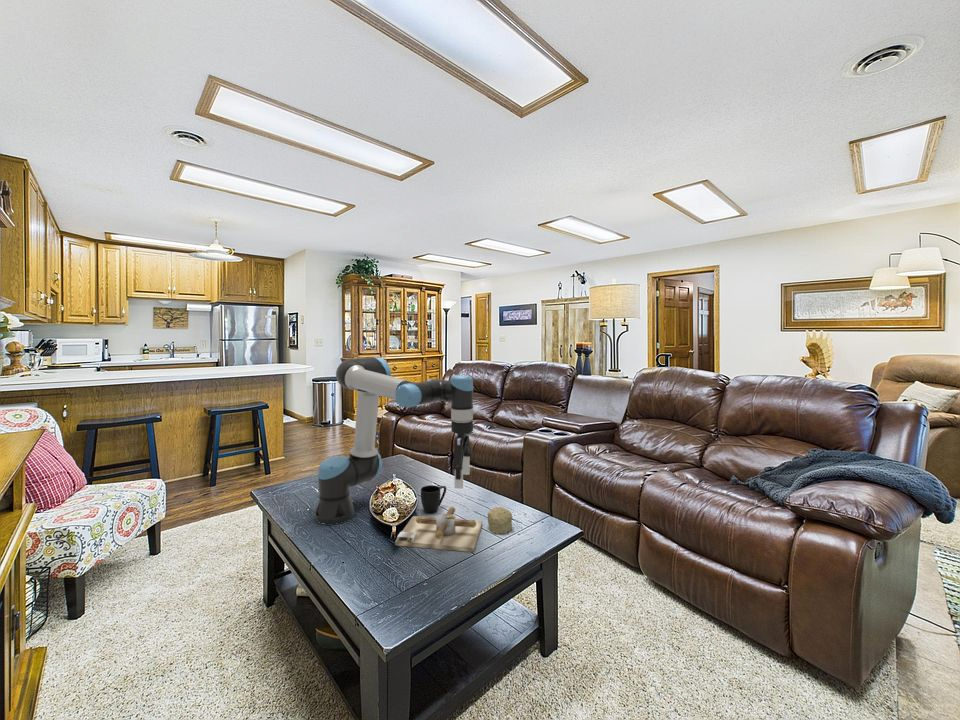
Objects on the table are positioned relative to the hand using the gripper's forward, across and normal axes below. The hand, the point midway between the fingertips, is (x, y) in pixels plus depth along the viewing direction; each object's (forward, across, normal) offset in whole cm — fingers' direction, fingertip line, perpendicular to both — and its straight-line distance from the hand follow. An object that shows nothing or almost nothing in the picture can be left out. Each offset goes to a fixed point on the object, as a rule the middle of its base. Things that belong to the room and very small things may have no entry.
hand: (462, 480), depth 143 cm
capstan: (+22, +6, +7) cm, 24 cm away
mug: (+23, +28, +17) cm, 40 cm away
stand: (+23, +7, +9) cm, 26 cm away
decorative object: (+24, +15, -12) cm, 30 cm away
